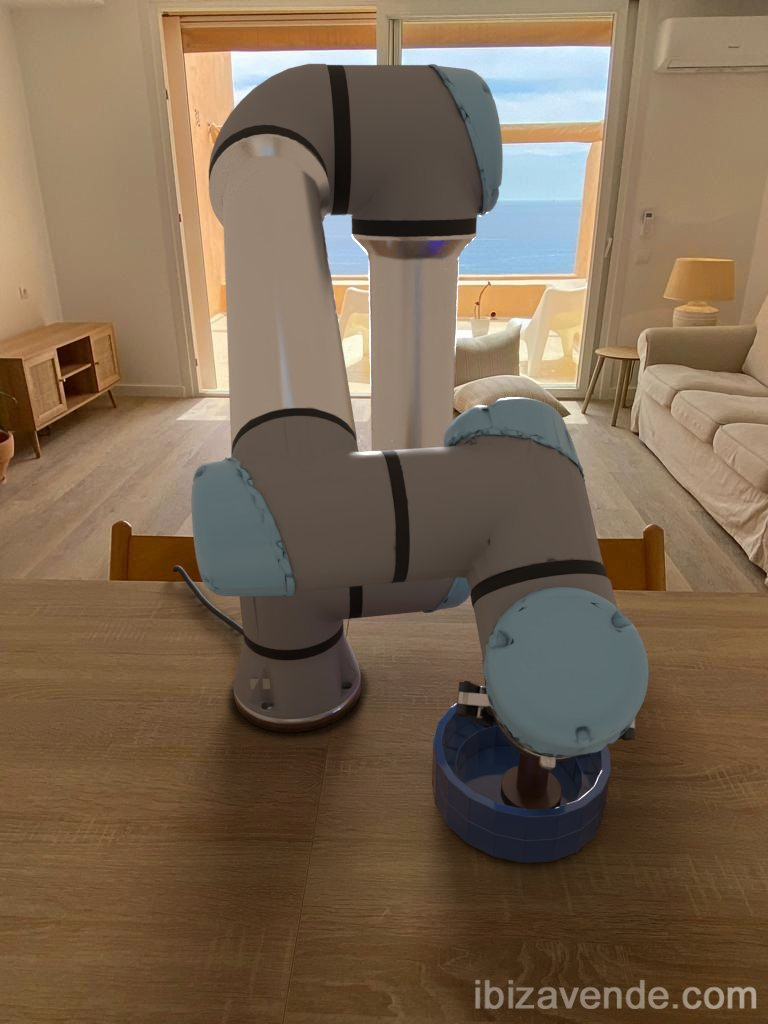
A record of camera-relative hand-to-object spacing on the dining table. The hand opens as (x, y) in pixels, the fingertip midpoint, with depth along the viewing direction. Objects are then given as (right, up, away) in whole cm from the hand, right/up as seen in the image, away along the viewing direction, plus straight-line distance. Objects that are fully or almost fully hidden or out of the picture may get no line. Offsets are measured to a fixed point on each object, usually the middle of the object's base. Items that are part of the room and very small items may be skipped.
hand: (536, 725), depth 67 cm
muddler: (-1, -6, -1) cm, 6 cm away
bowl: (-2, -8, +2) cm, 8 cm away
